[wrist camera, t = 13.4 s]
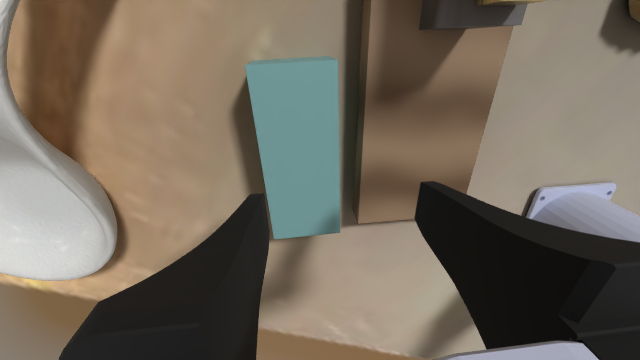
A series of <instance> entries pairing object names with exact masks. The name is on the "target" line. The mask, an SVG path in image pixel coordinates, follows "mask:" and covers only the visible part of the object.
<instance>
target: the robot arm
mask: <svg viewBox="0 0 640 360" xmlns="http://www.w3.org/2000/svg"><path fill="white" fill-rule="evenodd" d="M616 187H617V186H616V184H614V183H611V182H610V183H597V184H584V185H571V186H558V187H545V188H540V189H539V190H538V191H537V192H536V194H535V197H534V199H533V201H532V204H531V206H530V208H529V211H528V213H527V215H526V217H523V216H520V215H517V214H514V213H511V212H508V211H505V210H503V209H500V208H498V207H495V206H492V205H490V204H487V203H485V202H483V201H480V200H478V199H476V198H473V197H471V196H469V195H466V194H464V193H462V192H460V191H457V190H455V189H453V188H451V187H448V186H446V185H443V184H441V183H438V182H435V181H427V182H421V183H420V189H419V194H418V200H417V206H416V212H415V217H414V218H415V221H416V223H417V225H418V227H419V229H420V231H421V233H422V235H423V237H424V239H425V240H426V242H427V243H428V245H429V246H430V248H431V249H432V251H433V252H434V254H435V255H436V257H437V258H438V260H439V261H440V263H441V264H442V265H443V267H444V268H445V270H446V271H447V273H448V274H449V276H450V278H451V279H452V281H453V282H454V284H455V286H456V288H457V290H458V291H459V293H460V295H461V297H462V299H463V301H464V303H465V305H466V307H467V309H468V311H469V313H470V315H471V317H472V319H473V321H474V323H475V325H476V327H477V329H478V331H479V334H480V336H481V338H482V340H483V342H484V345H485V347H486V349H487V350H480V351H472V352H465V353H457V354H452V355H448V356H445V357H441V358H437V359H434V360H640V216H638V215H636V214H634V213H632V212H630V211H628V210H626V209H624V208H622V207H620V206H618V205H616V204H614V203H612V202H610V201H609V200H610V198H611V196H612V194H613V193H614V191H615V189H616ZM268 250H269V225H268V218H267V211H266V205H265V198H264V194H252V195H249V196H248V197H247V198H246V200H245V201H244V202H243V203H242V204H241V205H240V206H239V208H238V209H237V210H236V211H235V212H234V213H233V214H232V215H231V216H230V217H229V218H228V220H227V221H226V222H225V223H223V224H222V225H221V226H220V227H219V228H218V229H217V230H216V231H215V232H214V233H213V234H212V235H211V236H210V237H208V238H207V239H206V240H205V241H203V242H202V243H201V244H200V245H198V246H197V247H196V248H194V249H193V250H192V251H190V252H189V253H187V254H186V255H184V256H183V257H181V258H180V259H178V260H177V261H175V262H174V263H172V264H171V265H169V266H168V267H166V268H164V269H163V270H161V271H159V272H157V273H156V274H154V275H152V276H150V277H148V278H147V279H145V280H143V281H141V282H139V283H137V284H135V285H133V286H131V287H129V288H127V289H125V290H123V291H121V292H119V293H117V294H115V295H113V296H110V297H108V298H106V299H104V300H102V301H100V302H98V304H97V305H96V306H95V308H94V309H93V310H92V311H91V313H90V314H89V315H88V317H87V318H86V319H85V321H84V322H83V324H82V325H81V326H80V328H79V329H78V330H77V332H76V333H75V334H74V336H73V337H72V339H71V340H70V341H69V343H68V344H67V345H66V347H65V348H64V349H63V351H62V353H61V355H60V357H59V360H256V349H257V333H258V318H259V305H260V297H261V291H262V285H263V279H264V273H265V268H266V262H267V256H268Z"/></svg>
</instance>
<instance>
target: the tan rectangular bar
mask: <svg viewBox="0 0 640 360" xmlns="http://www.w3.org/2000/svg"><path fill="white" fill-rule="evenodd" d="M542 1H548V0H477V3H476V6H496V5H523V4H529V3H535V2H542Z"/></svg>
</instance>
